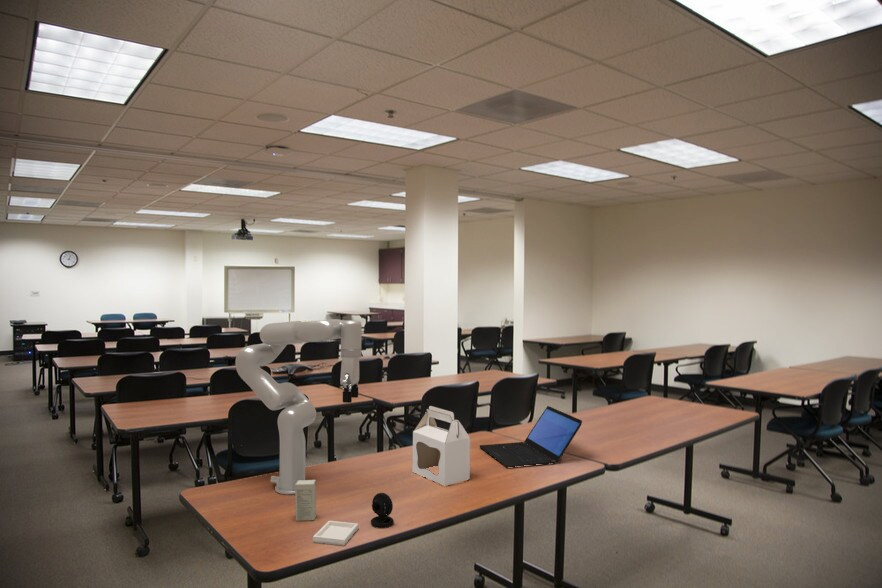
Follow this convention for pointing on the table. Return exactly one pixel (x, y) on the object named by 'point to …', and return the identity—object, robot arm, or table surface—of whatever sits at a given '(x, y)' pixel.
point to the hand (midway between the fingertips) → (350, 399)
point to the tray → (335, 533)
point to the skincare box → (305, 500)
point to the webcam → (382, 510)
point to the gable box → (441, 448)
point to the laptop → (539, 441)
